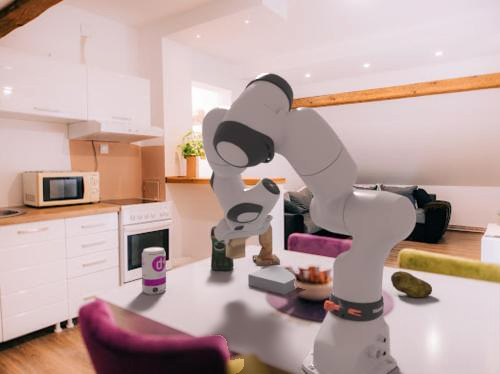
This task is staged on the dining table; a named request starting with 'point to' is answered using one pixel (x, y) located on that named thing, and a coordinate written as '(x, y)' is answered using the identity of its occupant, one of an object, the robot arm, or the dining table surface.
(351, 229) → the robot arm
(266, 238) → the bird sculpture
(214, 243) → the coffee jar
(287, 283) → the grey stand
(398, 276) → the potato
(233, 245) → the oak block
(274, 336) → the dining table surface
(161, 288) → the supplement can
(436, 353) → the dining table surface
